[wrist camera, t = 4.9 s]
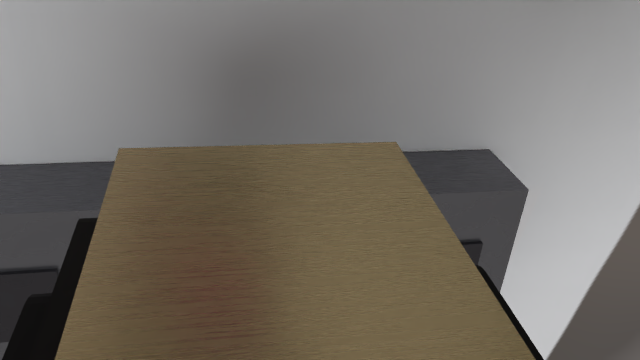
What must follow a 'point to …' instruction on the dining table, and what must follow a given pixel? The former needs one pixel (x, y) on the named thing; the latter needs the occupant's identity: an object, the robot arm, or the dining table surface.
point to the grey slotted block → (92, 178)
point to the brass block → (279, 262)
